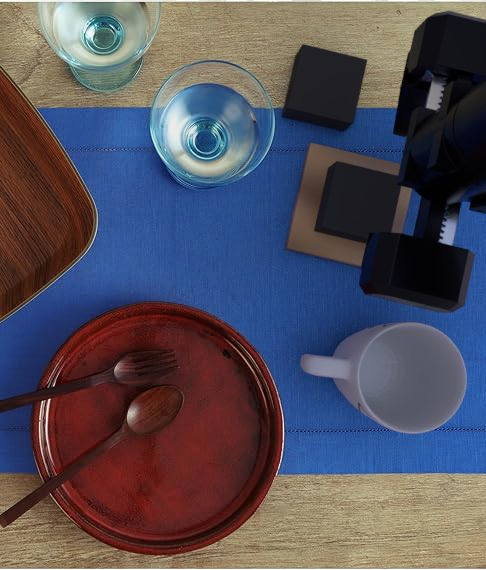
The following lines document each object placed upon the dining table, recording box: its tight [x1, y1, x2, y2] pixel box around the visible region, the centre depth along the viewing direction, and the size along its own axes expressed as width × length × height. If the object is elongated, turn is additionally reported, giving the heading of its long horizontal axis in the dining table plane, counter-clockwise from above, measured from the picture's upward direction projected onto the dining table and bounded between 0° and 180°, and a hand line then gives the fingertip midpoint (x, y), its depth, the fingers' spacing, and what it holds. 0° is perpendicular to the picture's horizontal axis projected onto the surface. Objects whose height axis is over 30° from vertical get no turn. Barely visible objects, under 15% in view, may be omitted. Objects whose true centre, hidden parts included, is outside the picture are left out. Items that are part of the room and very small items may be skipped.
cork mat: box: [283, 142, 413, 269], centre depth 57 cm, size 10×10×1 cm
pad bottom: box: [314, 161, 401, 243], centre depth 55 cm, size 6×6×2 cm
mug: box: [299, 321, 468, 435], centre depth 51 cm, size 11×8×10 cm
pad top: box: [281, 43, 368, 133], centre depth 56 cm, size 6×6×2 cm
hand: (387, 189), depth 48 cm, fingers open, 9 cm apart
